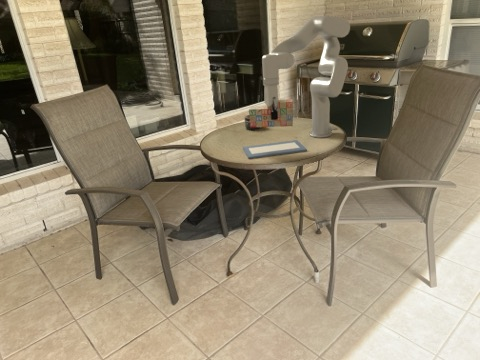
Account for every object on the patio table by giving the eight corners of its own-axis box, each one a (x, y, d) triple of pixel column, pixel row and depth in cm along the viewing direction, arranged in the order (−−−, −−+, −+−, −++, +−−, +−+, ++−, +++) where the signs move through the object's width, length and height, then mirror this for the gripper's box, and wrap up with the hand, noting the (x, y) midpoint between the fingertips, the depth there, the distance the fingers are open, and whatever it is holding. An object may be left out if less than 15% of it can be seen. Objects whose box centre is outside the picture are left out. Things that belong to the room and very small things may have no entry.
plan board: (297, 141, 200) (297, 139, 200) (306, 151, 186) (306, 149, 185) (242, 148, 197) (242, 146, 196) (248, 158, 182) (248, 156, 182)
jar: (255, 125, 237) (254, 113, 234) (264, 128, 229) (263, 116, 226) (242, 128, 233) (241, 116, 230) (250, 131, 225) (249, 119, 222)
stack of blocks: (249, 127, 185) (248, 103, 180) (251, 124, 190) (249, 100, 185) (293, 126, 182) (292, 101, 177) (293, 122, 187) (292, 98, 182)
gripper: (259, 79, 185) (261, 114, 192) (267, 85, 169) (269, 122, 176) (274, 78, 186) (275, 112, 193) (283, 83, 170) (284, 121, 177)
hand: (272, 117), depth 184 cm, fingers closed on stack of blocks, 7 cm apart
